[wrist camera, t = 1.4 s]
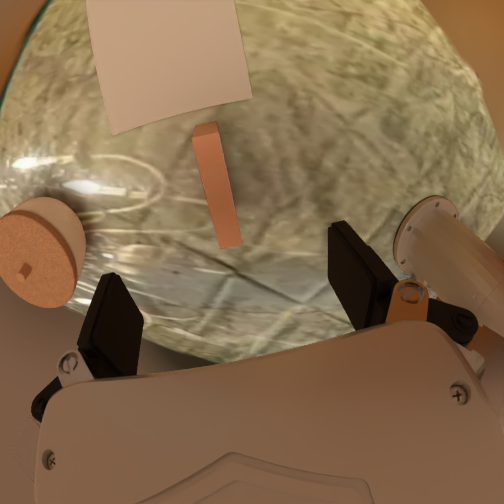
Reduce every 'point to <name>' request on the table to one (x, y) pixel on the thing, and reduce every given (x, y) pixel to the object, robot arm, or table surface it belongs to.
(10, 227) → the lidded jar
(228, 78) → the mat
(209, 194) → the block
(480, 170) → the table surface
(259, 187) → the table surface
